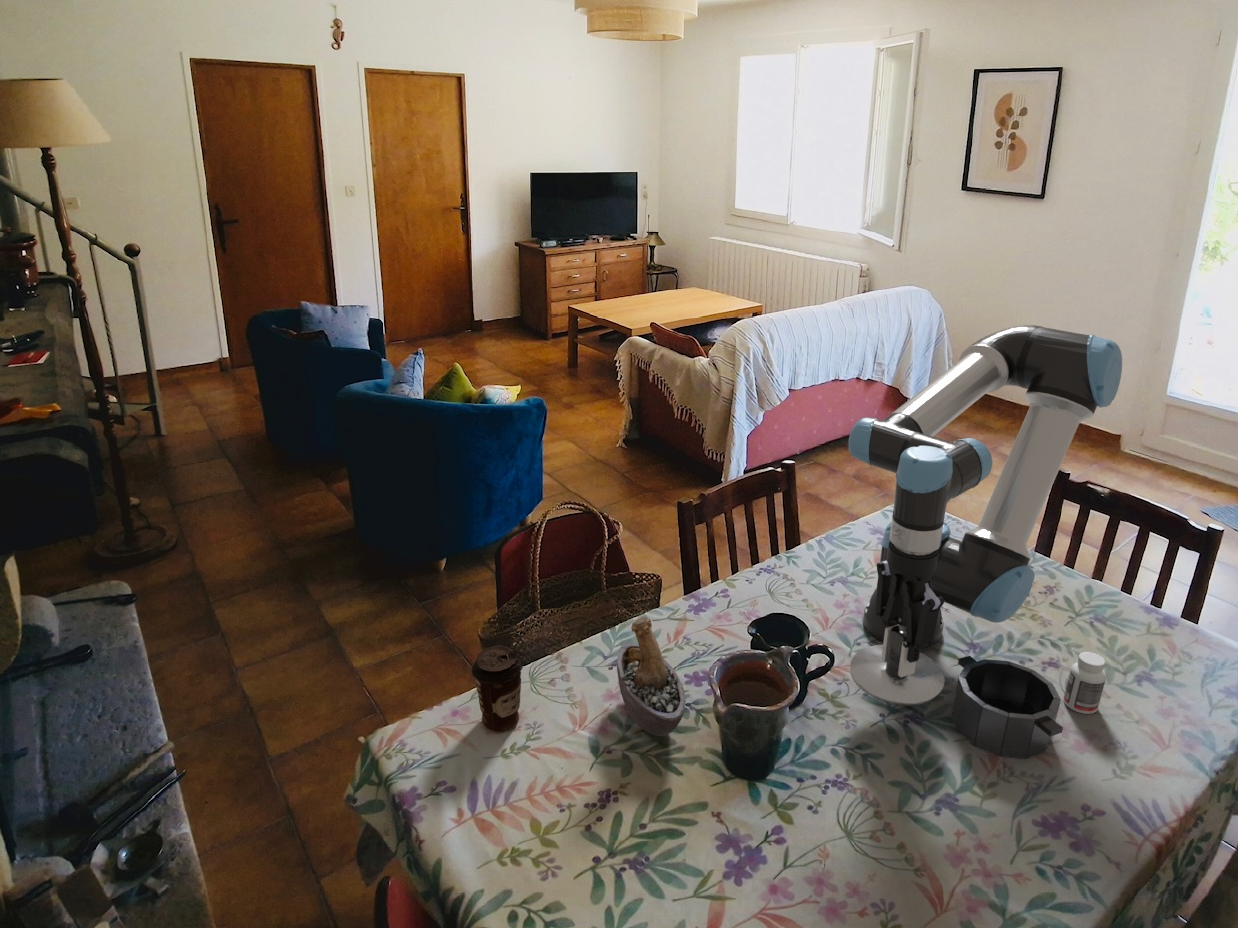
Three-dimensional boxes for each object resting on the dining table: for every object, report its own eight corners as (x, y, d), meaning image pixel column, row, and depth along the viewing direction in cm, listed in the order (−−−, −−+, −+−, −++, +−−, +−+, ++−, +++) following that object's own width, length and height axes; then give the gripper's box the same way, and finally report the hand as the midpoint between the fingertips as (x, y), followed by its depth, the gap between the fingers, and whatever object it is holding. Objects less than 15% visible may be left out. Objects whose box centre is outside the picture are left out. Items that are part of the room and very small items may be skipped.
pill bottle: (1103, 707, 146) (1116, 661, 142) (1086, 719, 143) (1099, 672, 140) (1073, 690, 150) (1085, 645, 146) (1056, 701, 148) (1067, 655, 144)
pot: (924, 701, 148) (930, 663, 145) (990, 680, 153) (997, 644, 150) (1011, 779, 131) (1021, 738, 128) (1083, 753, 136) (1093, 713, 133)
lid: (831, 665, 145) (836, 618, 141) (902, 643, 150) (908, 598, 146) (888, 719, 133) (894, 670, 129) (963, 694, 138) (971, 646, 134)
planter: (628, 679, 154) (627, 584, 146) (711, 709, 146) (716, 611, 138) (585, 727, 142) (582, 627, 134) (673, 762, 135) (676, 659, 127)
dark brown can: (536, 713, 146) (532, 650, 141) (511, 743, 139) (506, 679, 134) (493, 699, 149) (488, 638, 144) (466, 728, 142) (460, 665, 137)
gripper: (861, 525, 137) (848, 644, 146) (931, 575, 123) (912, 703, 132) (898, 516, 139) (884, 633, 149) (972, 564, 125) (950, 690, 135)
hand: (897, 666), depth 140 cm, fingers closed on lid, 4 cm apart
